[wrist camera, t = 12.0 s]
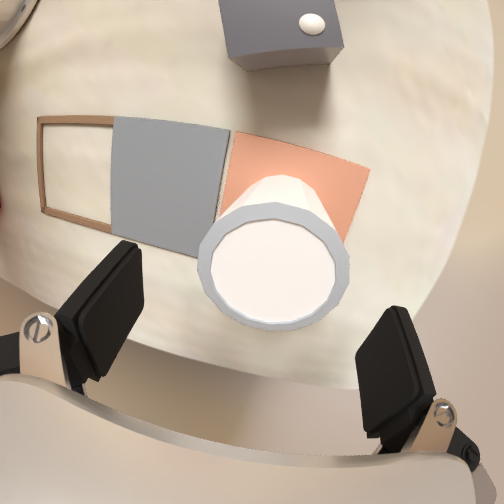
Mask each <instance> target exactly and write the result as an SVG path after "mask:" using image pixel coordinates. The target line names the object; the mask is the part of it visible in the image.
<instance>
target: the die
mask: <svg viewBox="0 0 504 504" xmlns="http://www.w3.org/2000/svg"><path fill="white" fill-rule="evenodd" d="M218 1H219V7H220V12H221V18H222V23H223V29H224V35H225V40H226V46H227V52H228V58H229V59H231V60H232V61H233V62H235V63H236V64H238V65H239V66H240V67H242V68H243V69H245V70H246V71H254V70H261V69H268V68H276V67H286V66H297V65H313V64H331V62H332V61H333V60H334V59H335V57H336V56H337V55H338V54H339V53H340V51H341V50H342V49H343V48H344V44H343V39H342V34H341V29H340V25H339V20H338V16H337V12H336V8H335V4H334V0H218Z"/></svg>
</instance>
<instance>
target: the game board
mask: <svg viewBox="0 0 504 504" xmlns="http://www.w3.org/2000/svg"><path fill="white" fill-rule="evenodd" d="M43 123H90V124H110V125H113V136H112V152H111V225H109V224H106V223H102V222H99V221H95V220H91V219H88V218H84V217H81V216H77V215H74V214H70V213H66V212H63V211H59V210H56V209H52V208H49V207H46V201H45V191H44V178H43V155H42V132H43ZM229 135H230V130H226V129H220V128H215V127H209V126H203V125H196V124H189V123H182V122H174V121H166V120H157V119H146V118H134V117H119V116H92V115H66V116H40V117H37V171H38V185H39V196H40V204H41V212H42V213H45V214H48V215H52V216H55V217H58V218H62V219H65V220H68V221H71V222H75V223H78V224H81V225H85V226H88V227H91V228H95V229H98V230H102V231H105V232H108V233H112V234H115V235H119V236H122V237H126V238H129V239H133V240H136V241H140V242H143V243H147V244H150V245H154V246H157V247H161V248H165V249H168V250H172V251H175V252H179V253H183V254H186V255H190V256H194V257H197V258H198V256H199V247H200V244H201V242H202V241H203V239H204V238H205V236H206V235H207V233H208V232H209V230H210V228H211V227H212V225H213V224H214V219H215V213H216V207H217V201H218V195H219V189H220V183H221V178H222V172H223V166H224V161H225V156H226V150H227V145H228V140H229ZM369 172H370V169H369V168H366V167H364V166H361V165H358V164H355V163H352V162H349V161H346V160H343V159H340V158H337V157H334V156H331V155H327V154H324V153H321V152H317V151H314V150H311V149H307V148H304V147H300V146H296V145H292V144H289V143H285V142H281V141H277V140H273V139H268V138H264V137H260V136H255V135H251V134H246V133H241V132H236V133H235V138H234V143H233V148H232V153H231V158H230V163H229V168H228V174H227V179H226V184H225V190H224V195H223V201H222V207H221V212H220V216H221V215H222V214H223V213H224V212H225V211H226V210H227V209H228V208H229V207H230V206H231V205H232V204H233V203H234V202H235V201H236V200H237V199H238V198H239V197H240V196H241V195H242V194H243V193H244V192H245V191H246V190H247V189H248V188H249V187H250V186H251V185H253V184H254V183H256V182H258V181H259V180H261V179H263V178H264V177H269V176H276V175H286V176H290V177H294V178H298V179H300V180H302V181H303V182H305V183H306V184H307V185H308V186H310V187H311V188H312V189H314V191H315V192H316V194H317V196H318V198H319V199H320V201H321V203H322V205H323V207H324V208H325V210H326V212H327V214H328V216H329V218H330V220H331V221H332V223H333V225H334V227H335V229H336V231H337V233H338V235H339V237H340V239H341V241H342V243H343V242H344V239H345V237H346V234H347V232H348V229H349V227H350V224H351V222H352V219H353V217H354V214H355V211H356V209H357V206H358V203H359V201H360V198H361V195H362V192H363V189H364V187H365V184H366V181H367V178H368V175H369Z"/></svg>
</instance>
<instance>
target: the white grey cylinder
mask: <svg viewBox="0 0 504 504" xmlns="http://www.w3.org/2000/svg"><path fill="white" fill-rule="evenodd" d="M197 271H198V274H199V277H200V280H201V283H202V286H203V288H204V291H205V293H206V295H207V296H208V297H209V298H210V299H211V300H212V302H213V303H214V304H215V305H216V306H217V307H218V308H219V310H220V311H221V312H223V313H224V314H226V315H228V316H229V317H231V318H233V319H235V320H236V321H238V322H240V323H241V324H243V325H246V326H250V327H255V328H259V329H263V330H267V331H279V330H295V329H298V328H301V327H304V326H306V325H309V324H312V323H314V322H317V321H319V320H321V319H322V318H323V317H324V316H325V315H327V314H328V313H329V312H330V311H331V310H332V309H334V308H335V307H336V306H337V305H338V304H339V302H340V300H341V298H342V296H343V294H344V292H345V290H346V288H347V286H348V284H349V255H348V253H347V251H346V249H345V247H344V245H343V243H342V241H341V239H340V237H339V235H338V233H337V231H336V229H335V227H334V225H333V223H332V221H331V220H330V218H329V216H328V214H327V212H326V210H325V208H324V207H323V205H322V203H321V201H320V199H319V198H318V196H317V194H316V192H315V191H314V189H312V188H311V187H310V186H308V185H307V184H306V183H305V182H303V181H302V180H300V179H298V178H294V177H290V176H286V175H276V176H269V177H264V178H263V179H261V180H259V181H258V182H256V183H254V184H253V185H251V186H250V187H249V188H248V189H247V190H246V191H245V192H244V193H243V194H242V195H241V196H240V197H239V198H238V199H237V200H236V201H235V202H234V203H233V204H232V205H231V206H230V207H229V208H228V209H227V210H226V211H225V212H224V213H223V214H222V215H221V216H220V217H219V218H218V219H217V220H216V221H215V222H214V224H213V225H212V227H211V228H210V230H209V232H208V233H207V235H206V236H205V238H204V239H203V241H202V242H201V244H200V247H199V256H198V265H197Z"/></svg>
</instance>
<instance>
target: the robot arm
mask: <svg viewBox="0 0 504 504" xmlns="http://www.w3.org/2000/svg"><path fill="white" fill-rule="evenodd" d="M36 2H37V0H0V48H3V47H4V46H5V45H6V44H8V42H9V41H10V40H11V39H12V38H13V37H14V36H15V35H16V33H17V32H18V31H19V30H20V28H21V27H22V25H23V24H24V23H25V21H26V19H27V18H28V16H29V15H30V13H31V11H32V9H33V8H34V6H35V4H36ZM143 307H144V292H143V275H142V252H141V249H139V248H138V245H137V244H136V243H132V242H129V241H125V240H122V241H121V242H119V244H118V245H117V246H116V247H115V248H114V249H113V250H112V251H111V252H110V253H109V254H108V255H107V256H106V257H105V258H104V259H103V260H102V261H101V262H100V263H99V265H98V266H97V267H96V268H95V269H94V270H93V271H92V272H91V273H90V274H89V275H88V276H87V277H86V278H85V280H84V281H83V282H82V283H81V284H80V285H79V286H78V288H77V289H76V290H75V291H74V292H73V293H72V295H71V296H70V297H69V298H68V299H67V301H66V302H65V303H64V304H63V305H62V307H61V308H60V309H59V310H58V312H57V313H56V314H55V315H54V317H53V316H52V315H51V314H49V313H46V312H37V313H34V314H31V315H30V316H28V317H27V318H26V319H25V320H24V321H23V323H22V325H21V327H20V332H16V333H13V334H9V335H4V336H0V504H494V502H495V500H496V488H495V486H494V484H493V482H492V481H491V479H490V477H489V475H488V474H487V472H486V470H485V469H484V467H483V465H482V463H480V464H479V461H480V453H479V449H478V447H477V445H476V444H475V443H474V442H473V441H472V440H470V439H469V438H468V437H467V436H466V435H465V434H464V433H463V432H462V431H460V430H459V429H458V428H457V427H456V424H457V413H456V410H455V408H454V407H453V405H452V404H451V403H450V402H449V401H447V400H446V399H442V398H440V399H436V400H435V401H434V400H433V397H434V396H435V395H436V391H435V387H434V384H433V381H432V377H431V374H430V371H429V368H428V365H427V362H426V359H425V356H424V353H423V350H422V347H421V344H420V341H419V339H418V336H417V333H416V331H415V328H414V325H413V323H412V320H411V318H410V315H409V313H408V311H407V309H406V308H404V307H400V306H395V305H393V306H391V307H390V308H387V309H386V310H385V312H384V313H383V315H382V316H381V318H380V319H379V321H378V322H377V324H376V325H375V327H374V328H373V330H372V331H371V333H370V334H369V335H368V337H367V338H366V340H365V341H364V342H363V344H362V345H361V346H360V348H359V349H358V351H357V352H356V356H355V362H356V368H357V376H358V383H359V391H360V399H361V408H362V417H363V428H364V430H365V432H367V438H379V437H380V440H381V442H380V444H379V445H378V447H377V448H376V450H375V451H374V452H373V454H372V455H361V456H360V455H358V456H321V455H302V454H289V453H279V452H270V451H263V450H256V449H249V448H243V447H237V446H232V445H227V444H222V443H218V442H213V441H209V440H205V439H201V438H197V437H193V436H189V435H186V434H182V433H179V432H175V431H172V430H169V429H166V428H162V427H159V426H156V425H153V424H151V423H148V422H145V421H142V420H140V419H137V418H134V417H132V416H129V415H127V414H124V413H122V412H119V411H117V410H114V409H112V408H109V407H107V406H104V405H102V404H100V403H98V402H96V401H94V400H91V399H89V398H88V396H87V393H86V389H85V385H84V383H85V382H86V381H87V379H88V378H90V379H92V380H95V381H97V382H98V381H99V380H100V378H101V376H103V377H104V376H106V374H107V373H108V371H109V369H110V367H111V365H112V363H113V361H114V359H115V358H116V356H117V354H118V352H119V350H120V349H121V347H122V345H123V343H124V341H125V340H126V338H127V336H128V334H129V333H130V331H131V329H132V327H133V326H134V324H135V322H136V320H137V319H138V317H139V315H140V314H141V312H142V310H143Z"/></svg>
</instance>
